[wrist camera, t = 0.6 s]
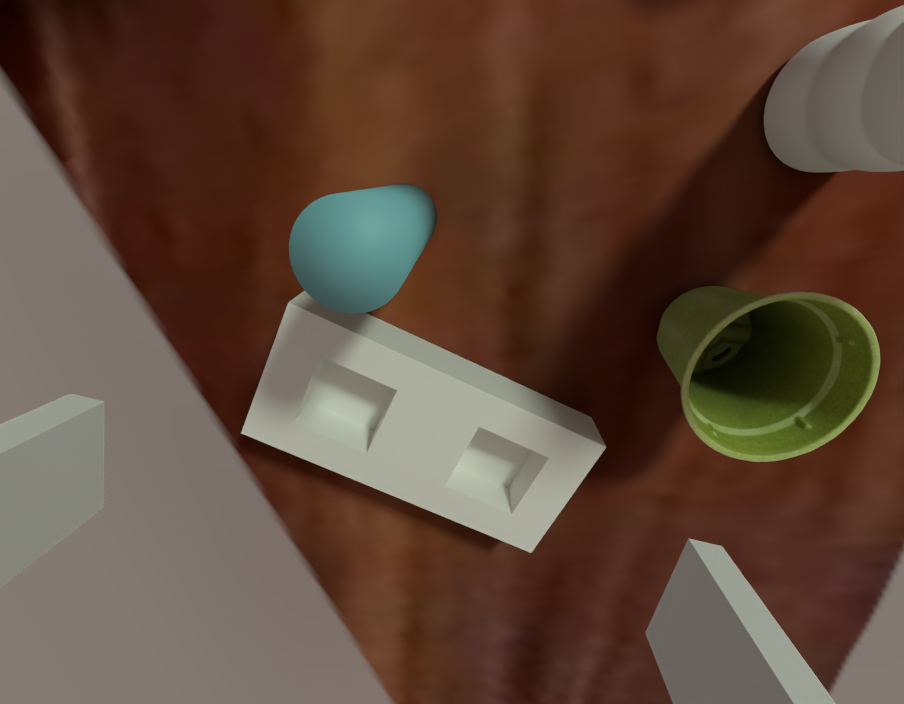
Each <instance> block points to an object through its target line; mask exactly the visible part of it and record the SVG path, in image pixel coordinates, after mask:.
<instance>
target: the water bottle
mask: <svg viewBox="0 0 904 704" xmlns="http://www.w3.org/2000/svg"><path fill="white" fill-rule="evenodd" d="M764 131H765V136H766V139H767V142H768V144H769V147H770V148H771V150H772V152H773V153H774V154H775V156H776V157H777V158H778V159H779V160H781V161H782V162H783V163H784V164H786V165H788V166H789V167H792V168H794V169H797V170H800V171H805V172H841V171H849V170H861V171H873V172H891V171H904V5H902V6H900V7H897V8H895V9H893V10H891V11H888V12H886V13H884V14H882V15H880V16H878V17H877V18H875V19H873V20H869V21H864V22H861V23H857V24H854V25H851V26H848V27H845V28H842V29H839V30H836V31H834V32H831V33H829V34H826V35H824V36H822V37H820V38H818V39H816V40H814V41H813V42H811V43H810V44H808V45H807V46H805V47H804V48H802V49H801V50H800V51H799V52H798V53H797V54H795V55H794V56H793V57H792V58H791V59H790V60H789V62H788V63H787V64H786V65H785V66H784V67H783V69H782V70H781V72H780V73H779V75H778V76H777V78H776V79H775V81H774V83H773V85H772V87H771V89H770V92H769V94H768V97H767V101H766V105H765V110H764Z"/></svg>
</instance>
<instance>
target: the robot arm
mask: <svg viewBox="0 0 904 704" xmlns="http://www.w3.org/2000/svg"><path fill="white" fill-rule="evenodd" d="M104 428H105V402H104V401H100V400H96V399H91V398H87V397H83V396H78V395H74V394H68V395H66V396H64V397H61V398H59V399H57V400H55V401H52V402H50V403H48V404H45V405H43V406H41V407H39V408H36V409H34V410H32V411H29V412H27V413H25V414H23V415H21V416H18V417H16V418H14V419H11V420H9V421H7V422H4V423H2V424H0V588H1V587H2V586H4V585H5V584H6V583H7V582H9V581H10V580H11V579H12V578H14V577H15V576H16V575H18V574H19V573H20V572H21V571H23V570H24V569H25V568H26V567H28V566H29V565H30V564H32V563H33V562H34V561H36V560H37V559H38V558H39V557H40V556H42V555H43V554H44V553H46V552H47V551H48V550H50V549H51V548H52V547H54V546H55V545H56V544H57V543H59V542H60V541H61V540H62V539H64V538H65V537H66V536H68V535H69V534H70V533H71V532H73V531H74V530H75V529H77V528H78V527H79V526H80V525H82V524H83V523H84V522H85V521H87V520H88V519H89V518H91V517H92V516H93V515H95V514H96V513H97V512H98V511H99V510H101V509H102V508H103V507H104V442H105V439H104V438H105V429H104ZM646 636H647V638H648V641H649V643H650V646H651V649H652V651H653V654H654V656H655V659H656V661H657V664H658V666H659V669H660V672H661V674H662V677H663V679H664V682H665V684H666V687H667V689H668V692H669V695H670V697H671V700H672V702H673V704H835V702H834V700H833V699H832V698H831V696H830V695H829V693H828V692H827V691H826V689H825V688H824V687H823V685H822V684H821V682H820V681H819V680H818V678H817V677H816V675H815V674H814V673H813V671H812V670H811V669H810V667H809V666H808V664H807V663H806V662H805V660H804V659H803V657H802V656H801V655H800V653H799V652H798V651H797V649H796V648H795V646H794V645H793V644H792V642H791V641H790V640H789V638H788V637H787V635H786V634H785V633H784V631H783V630H782V628H781V627H780V626H779V624H778V623H777V622H776V620H775V619H774V617H773V616H772V615H771V613H770V612H769V610H768V609H767V608H766V606H765V605H764V604H763V602H762V601H761V599H760V598H759V597H758V595H757V594H756V593H755V591H754V590H753V588H752V587H751V586H750V584H749V583H748V581H747V580H746V579H745V577H744V576H743V575H742V573H741V572H740V570H739V569H738V568H737V566H736V565H735V563H734V562H733V561H732V559H731V558H730V557H729V555H728V554H727V552H726V551H725V550H724V548H723V547H722V546H719V545H714V544H710V543H706V542H701V541H697V540H693V539H689V538H688V540H687V543H686V545H685V547H684V549H683V551H682V554H681V556H680V558H679V560H678V562H677V565H676V567H675V569H674V571H673V573H672V576H671V578H670V580H669V582H668V584H667V587H666V589H665V591H664V593H663V595H662V598H661V600H660V602H659V604H658V606H657V609H656V611H655V613H654V615H653V617H652V619H651V622H650V624H649V626H648V628H647V630H646Z"/></svg>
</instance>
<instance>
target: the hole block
mask: <svg viewBox="0 0 904 704" xmlns="http://www.w3.org/2000/svg"><path fill="white" fill-rule="evenodd" d="M241 434H244V435H246V436H249V437H251V438H254V439H256V440H258V441H261V442H263V443H266V444H268V445H271V446H273V447H275V448H278V449H280V450H283V451H285V452H288V453H290V454H292V455H295V456H297V457H300V458H302V459H305V460H307V461H309V462H312V463H314V464H317V465H319V466H322V467H324V468H326V469H329V470H331V471H334V472H336V473H339V474H341V475H343V476H346V477H348V478H351V479H353V480H356V481H358V482H360V483H363V484H365V485H368V486H370V487H372V488H375V489H377V490H380V491H382V492H385V493H387V494H389V495H392V496H394V497H397V498H399V499H402V500H404V501H406V502H409V503H411V504H414V505H416V506H419V507H421V508H423V509H426V510H428V511H431V512H433V513H436V514H438V515H440V516H443V517H445V518H448V519H450V520H453V521H455V522H457V523H460V524H462V525H465V526H467V527H470V528H472V529H474V530H477V531H479V532H482V533H484V534H487V535H489V536H491V537H494V538H496V539H499V540H501V541H504V542H506V543H508V544H511V545H513V546H516V547H518V548H521V549H523V550H525V551H528V552H530V553H532V551H533V550H534V548H535V547H536V545H537V544H538V543H539V541H540V540H541V538H542V537H543V536H544V534H545V533H546V531H547V530H548V529H549V527H550V526H551V524H552V523H553V522H554V520H555V519H556V517H557V516H558V515H559V513H560V512H561V510H562V509H563V508H564V506H565V505H566V503H567V502H568V500H569V499H570V498H571V496H572V495H573V493H574V492H575V491H576V489H577V488H578V486H579V485H580V484H581V482H582V481H583V479H584V478H585V477H586V475H587V474H588V472H589V471H590V470H591V468H592V467H593V465H594V464H595V462H596V461H597V460H598V458H599V457H600V455H601V454H602V453H603V451H604V450H605V448H606V445H605V443H604V441H603V439H602V437H601V435H600V433H599V431H598V429H597V427H596V426H595V424H594V422H593V420H592V418H591V417H590V416H587V415H585V414H583V413H581V412H579V411H577V410H575V409H572V408H570V407H568V406H566V405H564V404H562V403H559V402H557V401H555V400H553V399H551V398H549V397H546V396H544V395H542V394H540V393H538V392H536V391H533V390H531V389H529V388H527V387H525V386H523V385H520V384H518V383H516V382H514V381H512V380H510V379H507V378H505V377H503V376H501V375H499V374H497V373H494V372H492V371H490V370H488V369H486V368H484V367H482V366H479V365H477V364H475V363H473V362H471V361H469V360H466V359H464V358H462V357H460V356H458V355H456V354H453V353H451V352H449V351H447V350H445V349H443V348H440V347H438V346H436V345H434V344H432V343H430V342H427V341H425V340H423V339H421V338H419V337H417V336H414V335H412V334H410V333H408V332H406V331H404V330H402V329H399V328H397V327H395V326H393V325H391V324H389V323H386V322H384V321H382V320H380V319H378V318H376V317H373V316H371V315H369V314H367V313H359V314H348V313H341V312H337V311H334V310H331V309H329V308H327V307H325V306H323V305H321V304H320V303H318V302H317V301H315V300H314V299H313V298H312V297H311V296H310V295H308V293H307V292H306V291H304V292H302V293H301V294H300V295H298V296H297V297H295V298H294V299H293V300H291V301H290V302H288V305H287V308H286V310H285V313H284V316H283V319H282V321H281V324H280V327H279V330H278V332H277V335H276V338H275V341H274V343H273V346H272V349H271V352H270V355H269V357H268V360H267V363H266V366H265V368H264V371H263V374H262V377H261V379H260V382H259V385H258V388H257V390H256V393H255V396H254V399H253V401H252V404H251V407H250V410H249V412H248V415H247V418H246V421H245V424H244V426H243V429H242V432H241Z"/></svg>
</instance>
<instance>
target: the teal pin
mask: <svg viewBox="0 0 904 704" xmlns="http://www.w3.org/2000/svg"><path fill="white" fill-rule="evenodd" d="M436 224H437V211H436V207H435V205H434V202H433V200H432V199H431V197H430V196H429V195H428V194H427V193H426V192H425V191H424V190H423V189H421V188H419V187H417V186H415V185H412V184H397V185H390V186H383V187H377V188H370V189H363V190H357V191H350V192H343V193H337V194H331V195H327V196H324V197H322V198H320V199H317V200H316V201H314V202H313V203H311V204H310V205H308V206H307V207H306V208H305V209H304V210H303V211H302V213H301V214H300V215H299V217H298V218H297V220H296V221H295V224H294V226H293V228H292V231H291V235H290V241H289V256H290V262H291V266H292V269H293V271H294V274H295V276H296V278H297V280H298V282H299V283H300V285H301V286H302V288H303V289H304V290H305V291H306V292H307V293H308V295H310V296H311V297H312V298H313V299H314V300H315V301H317V302H318V303H320V304H321V305H323V306H325V307H327V308H329V309H331V310H334V311H337V312H341V313H348V314H359V313H366V312H370V311H373V310H375V309H378V308H379V307H381V306H383V305H385V304H386V303H387V302H388V301H390V300H391V299H392V298H393V297H394V296H395V295H396V293H397V292H398V290H399V289H400V288H401V286H402V284H403V283H404V281H405V279H406V278H407V276H408V274H409V273H410V271H411V269H412V268H413V266H414V264H415V263H416V261H417V259H418V258H419V256H420V254H421V253H422V251H423V249H424V248H425V246H426V244H427V243H428V241H429V239H430V238H431V236H432V234H433V232H434V230H435V228H436Z"/></svg>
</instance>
